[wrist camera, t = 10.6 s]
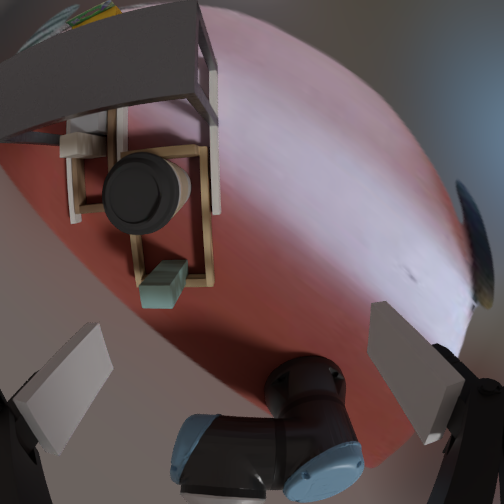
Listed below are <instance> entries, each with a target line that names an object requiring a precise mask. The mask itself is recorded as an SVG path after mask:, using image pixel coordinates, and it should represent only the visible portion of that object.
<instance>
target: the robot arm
mask: <svg viewBox="0 0 504 504" xmlns="http://www.w3.org/2000/svg"><path fill="white" fill-rule="evenodd" d="M367 353H368V355H369V357H370V358H371V360H372V361H373V363H374V364H375V366H376V367H377V369H378V371H379V372H380V374H381V375H382V377H383V379H384V380H385V382H386V383H387V385H388V386H389V388H390V390H391V391H392V393H393V394H394V396H395V398H396V399H397V401H398V403H399V404H400V406H401V407H402V409H403V411H404V412H405V414H406V416H407V417H408V419H409V421H410V422H411V424H412V426H413V427H414V429H415V431H416V432H417V434H418V435H419V437H420V439H421V441H422V442H423V444H424V445H426V444H429V443H431V442H434V441H437V440H439V439H441V438H442V437H443V434H444V432H445V430H446V428H448V429H449V431H450V432H451V436H450V438H449V440H448V442H447V444H446V446H445V448H444V450H443V453H445V454H444V458H443V461H442V464H441V467H440V470H439V473H438V476H437V479H436V482H435V484H434V487H433V490H432V492H431V495H430V497H429V500H428V502H427V504H492V503H493V498H494V493H495V489H496V483H497V478H498V472H499V482H500V501H501V504H504V386H503V387H502V385H501V384H500V383H499V382H497V381H495V380H493V379H489V378H482V379H478V378H477V377H476V376H475V375H474V374H473V373H472V372H471V371H470V370H469V369H468V368H467V367H466V366H465V365H464V364H463V363H462V362H460V360H459V359H458V358H457V357H456V356H454V354H453V353H452V352H451V351H450V350H449V349H448V348H446V347H444V346H442V345H440V344H438V343H437V344H433V345H431V344H430V343H429V342H428V341H427V340H426V339H425V338H424V337H423V336H422V335H421V334H420V333H419V332H418V331H417V330H416V329H415V328H413V327H412V326H411V325H410V324H409V323H408V322H407V321H406V320H405V319H404V318H403V317H402V316H401V315H400V314H399V313H398V312H397V311H396V310H395V309H394V308H393V307H391V306H390V305H389V304H388V303H387V302H386V301H383V302H376V303H371V315H370V328H369V339H368V349H367ZM113 369H114V368H113V365H112V363H111V360H110V357H109V354H108V351H107V347H106V344H105V341H104V338H103V334H102V332H101V328H100V324H99V323H86V324H85V325H84V326H83V327H82V328H81V329H80V330H79V331H78V332H77V333H76V334H75V335H74V336H73V337H72V338H71V339H70V340H69V341H68V342H67V343H66V344H65V345H64V346H63V347H62V348H61V349H60V350H59V351H58V352H57V353H56V354H55V355H54V356H53V357H52V358H51V359H50V360H49V361H48V362H47V363H46V364H45V365H44V366H43V367H42V368H41V369H40V370H38V371H37V372H35V373H34V374H33V375H32V376H31V377H30V378H29V379H28V381H26V382H25V383H24V385H23V386H22V387H21V388H20V389H19V390H18V391H17V392H16V393H15V394H14V395H13V396H12V397H11V399H10V400H9V401H8V402H7V401H6V399H5V397H4V395H3V393H2V391H1V389H0V504H52V500H51V498H50V494H49V491H48V487H47V484H46V480H45V476H44V473H43V469H42V465H41V460H40V456H39V452H38V450H37V449H36V447H35V446H36V444H37V443H38V442H39V443H40V445H41V446H42V448H43V449H44V450H45V452H48V453H51V454H54V455H57V456H60V454H61V452H62V451H63V449H64V447H65V446H66V444H67V442H68V441H69V439H70V437H71V436H72V434H73V432H74V431H75V429H76V427H77V425H78V424H79V422H80V421H81V419H82V417H83V416H84V414H85V413H86V411H87V409H88V408H89V406H90V405H91V403H92V401H93V400H94V398H95V397H96V395H97V394H98V392H99V390H100V389H101V387H102V386H103V384H104V383H105V381H106V380H107V378H108V377H109V375H110V373H111V372H112V370H113ZM264 392H265V401H266V405H267V407H268V409H269V410H270V412H271V414H272V415H273V417H274V418H256V417H236V416H224V415H221V414H216V415H208V414H194V415H191V416H190V417H188V418H187V419H186V420H185V422H184V423H183V425H182V427H181V429H180V431H179V433H178V436H177V439H176V442H175V445H174V449H173V454H172V459H171V463H172V465H171V469H170V476H171V479H172V481H173V482H175V483H176V484H179V485H181V491H180V495H181V496H182V497H183V498H184V499H185V500H186V502H188V504H263V503H264V502H265V501H266V490H283V493H284V495H285V496H286V497H287V498H288V499H289V500H291V501H296V502H302V503H304V502H313V501H318V500H322V499H326V498H328V497H331V496H333V495H336V494H338V493H340V492H341V491H343V490H345V489H347V488H348V487H349V486H351V485H352V484H353V483H354V482H355V481H356V480H357V479H358V478H359V477H360V475H361V474H362V472H363V469H364V459H363V455H362V451H361V445H360V443H359V442H358V439H357V437H356V434H355V431H354V429H353V426H352V424H351V421H350V418H349V416H348V413H347V411H346V408H345V395H346V382H345V378H344V376H343V374H342V371H341V369H340V368H339V367H338V366H337V365H336V364H335V363H334V362H333V361H331V360H329V359H326V358H323V357H318V356H305V357H299V358H295V359H292V360H290V361H287V362H285V363H283V364H282V365H280V366H279V367H278V368H276V369H275V370H274V371H273V372H272V373H271V374H270V376H269V377H268V379H267V381H266V384H265V389H264Z"/></svg>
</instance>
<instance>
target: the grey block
mask: <svg viewBox="0 0 504 504" xmlns="http://www.w3.org/2000/svg"><path fill="white" fill-rule="evenodd" d="M107 128H108V110H107V111H103V112H98V113H94V114H89V115H85V116H81V117H77V118H73V119H71V123H70V133H74V132H81V133H86V134H92V135H96V136H102V135H107Z"/></svg>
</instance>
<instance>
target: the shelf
mask: <svg viewBox="0 0 504 504" xmlns="http://www.w3.org/2000/svg"><path fill="white" fill-rule="evenodd" d="M198 44H199V47H200V49H201V52H202V54H203V57H204V59H205V62H206V64H207V67H208V69H209V71H213V70H216V71H217V74H218V66H217V62H216V59H215V56H214V52H213V49H212V46H211V42H210V39H209V36H208V33H207V29H206V26H205V23H204V20H203V17H202V13H201V10H200V7H199V4H198V1H197V0H187V1H180V2H173V3H167V4H162V5H156V6H151V7H147V8H142V9H138V10H133V11H129V12H125V13H122V14H118V15H114V16H111V17H107V18H104V19H101V20H98V21H94V22H91V23H88V24H85V25H83V26H80V27H77V28H74V29H72V30H69V31H66V32H64V33H61V34H59V35H57V36H54V37H52V38H50V39H47V40H45V41H43V42H41V43H38V44H36V45H34V46H32V47H30V48H28V49H26V50H24V51H22V52H20V53H18V54H16V55H14V56H12V57H11V58H9V59H7V60H5V61H3V62H2V63H0V143H18V144H36V145H51V146H60V136H62V135H57V134H49V133H41V132H33V130H36V129H39V128H42V127H45V126H48V125H52V124H55V123H59V122H62V121H66V120H69V119H73V118H77V117H81V116H85V115H89V114H94V113H98V112H103V111H107V110H112V109H117V108H122V107H128V106H134V105H139V104H146V103H152V102H159V101H167V100H175V99H184V98H186V99H187V100H188V101H189V102H190V103H191V104H192V106H193V107H194V108H195V109H196V110H197V112H198V113H199V114H200V115H201V116H202V118H203V119H204V120H205V121H206V122H207V123H208V125H209V126H217V127H218V117H217V115H216V113H215V111H214V110H213V108H212V106H211V104H210V103H209V101H208V99H207V97H206V96H205V94H204V92H203V90H202V88H201V87H200V85H199V83H198Z"/></svg>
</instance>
